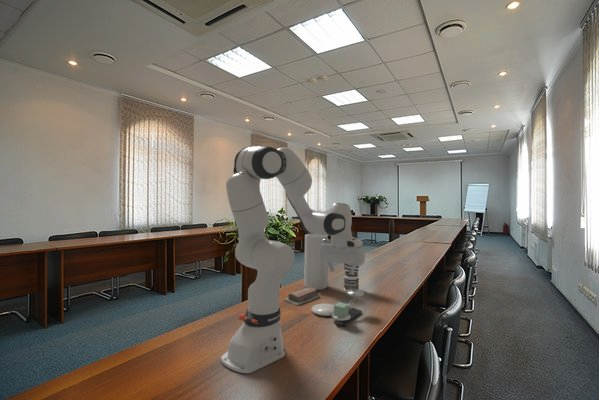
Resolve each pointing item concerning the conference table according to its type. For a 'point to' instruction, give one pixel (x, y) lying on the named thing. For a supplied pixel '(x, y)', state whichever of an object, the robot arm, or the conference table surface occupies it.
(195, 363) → the conference table surface
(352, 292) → the balance
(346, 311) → the block
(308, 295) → the packaged product
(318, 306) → the dish
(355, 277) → the decorative candle
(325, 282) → the vase
